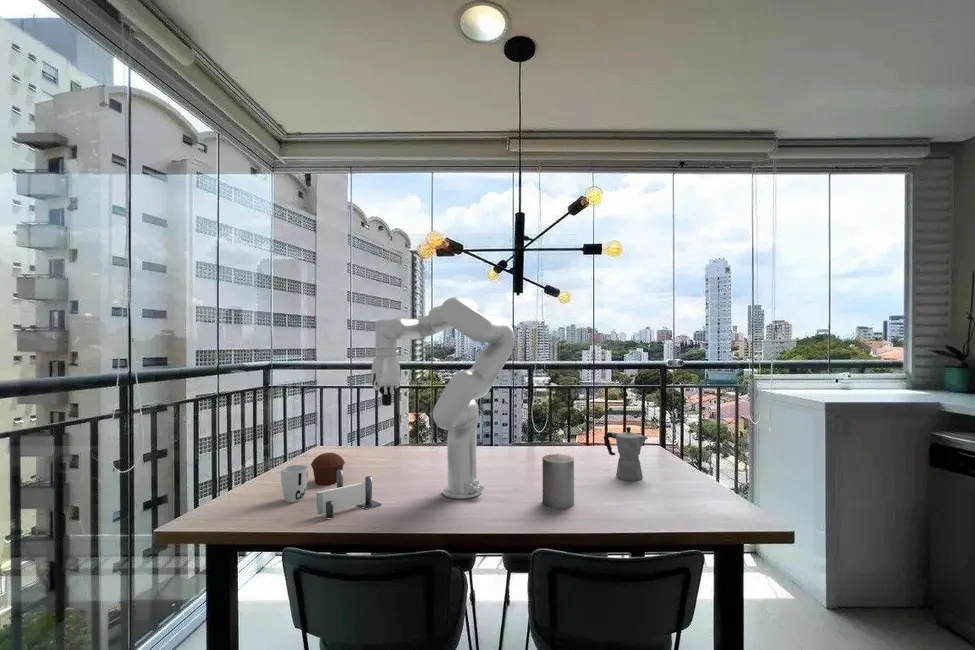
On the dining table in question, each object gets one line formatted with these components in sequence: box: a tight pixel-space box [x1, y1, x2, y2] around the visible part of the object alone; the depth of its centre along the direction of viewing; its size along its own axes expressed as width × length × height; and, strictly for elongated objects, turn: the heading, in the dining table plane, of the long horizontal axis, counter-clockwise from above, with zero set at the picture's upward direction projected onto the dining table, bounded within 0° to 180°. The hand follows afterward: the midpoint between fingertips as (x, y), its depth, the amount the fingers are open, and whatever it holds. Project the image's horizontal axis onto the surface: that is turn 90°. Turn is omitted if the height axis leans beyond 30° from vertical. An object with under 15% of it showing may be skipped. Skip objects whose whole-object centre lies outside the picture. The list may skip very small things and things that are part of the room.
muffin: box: [310, 452, 346, 486], centre depth 174 cm, size 12×11×10 cm
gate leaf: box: [316, 482, 365, 515], centre depth 144 cm, size 14×1×6 cm, turn 129°
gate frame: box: [325, 469, 382, 519], centre depth 150 cm, size 22×17×8 cm
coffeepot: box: [603, 426, 649, 482], centre depth 177 cm, size 15×9×18 cm, turn 67°
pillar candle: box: [542, 453, 575, 509], centre depth 150 cm, size 10×10×15 cm
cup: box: [280, 464, 309, 503], centre depth 155 cm, size 8×8×10 cm
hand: (386, 405), depth 175 cm, fingers closed
